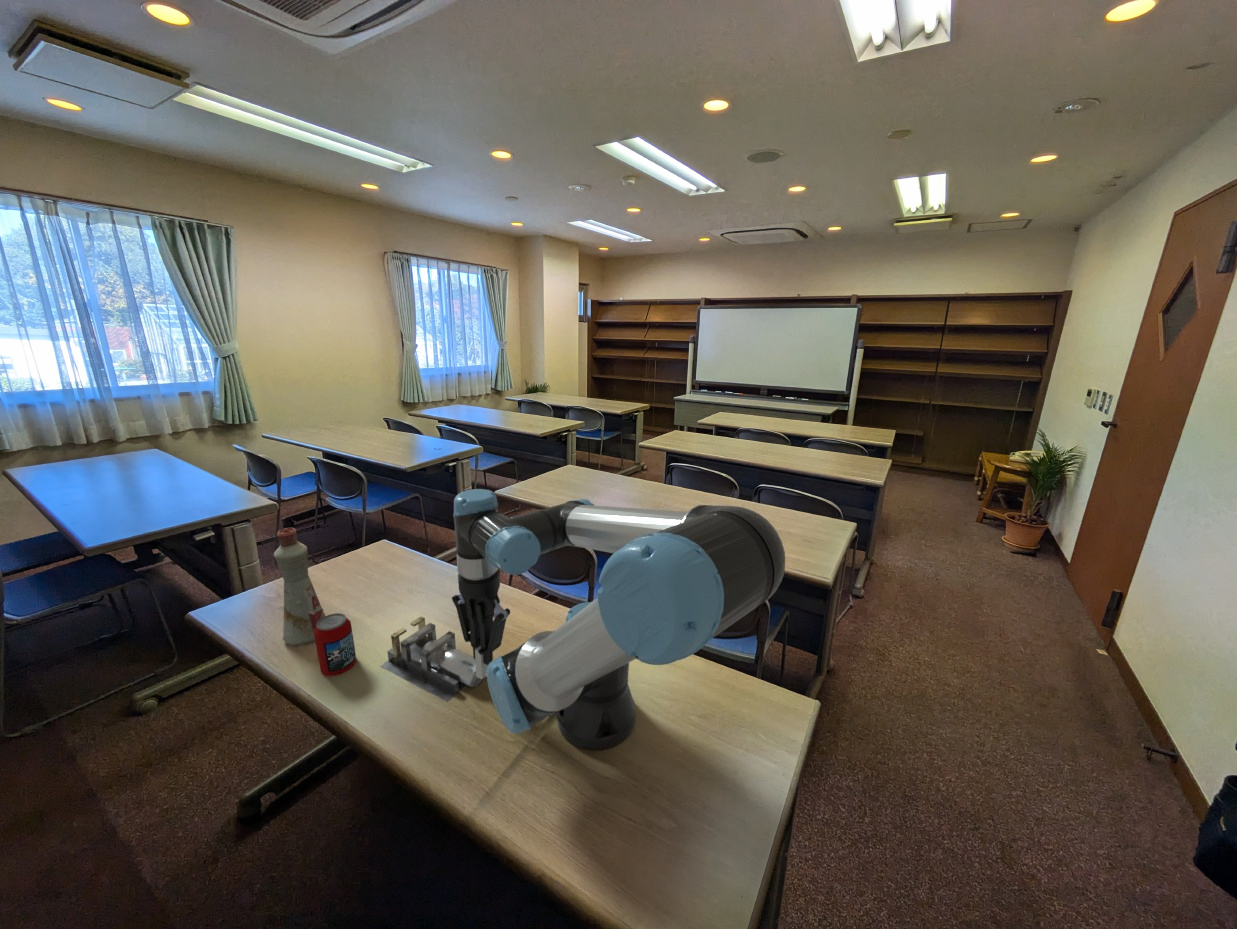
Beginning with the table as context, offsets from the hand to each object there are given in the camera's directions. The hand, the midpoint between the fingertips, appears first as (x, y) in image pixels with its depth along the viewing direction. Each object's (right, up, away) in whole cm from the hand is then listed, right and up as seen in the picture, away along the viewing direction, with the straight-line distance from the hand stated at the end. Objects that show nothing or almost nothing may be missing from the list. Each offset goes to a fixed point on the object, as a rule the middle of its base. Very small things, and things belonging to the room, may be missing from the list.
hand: (483, 673), depth 94 cm
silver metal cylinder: (-8, -2, +5) cm, 10 cm away
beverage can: (-33, -2, +6) cm, 34 cm away
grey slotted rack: (-13, -2, +7) cm, 15 cm away
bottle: (-47, +1, +16) cm, 50 cm away
